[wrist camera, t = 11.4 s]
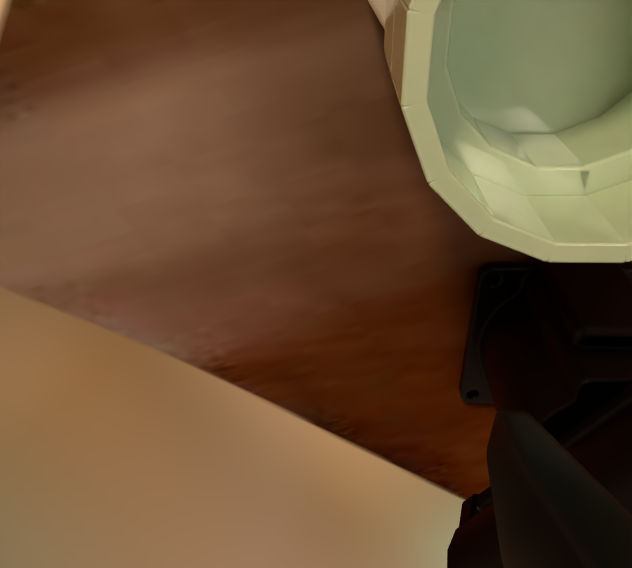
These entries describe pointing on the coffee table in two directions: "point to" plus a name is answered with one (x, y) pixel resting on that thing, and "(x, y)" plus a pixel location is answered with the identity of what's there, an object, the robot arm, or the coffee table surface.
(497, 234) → the bowl
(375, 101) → the coffee table surface
